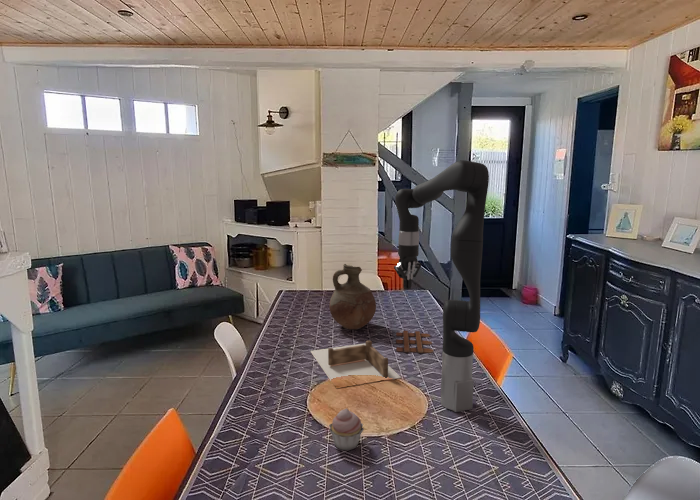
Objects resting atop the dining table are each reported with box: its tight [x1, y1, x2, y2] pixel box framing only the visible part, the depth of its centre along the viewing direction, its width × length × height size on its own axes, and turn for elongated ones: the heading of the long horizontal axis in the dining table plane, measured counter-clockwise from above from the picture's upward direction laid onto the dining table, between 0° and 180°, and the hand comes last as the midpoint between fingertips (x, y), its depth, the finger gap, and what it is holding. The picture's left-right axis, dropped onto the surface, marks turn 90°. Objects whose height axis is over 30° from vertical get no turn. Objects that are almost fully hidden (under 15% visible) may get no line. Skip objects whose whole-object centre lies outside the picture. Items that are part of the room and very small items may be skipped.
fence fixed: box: [365, 340, 389, 378], centre depth 165 cm, size 18×2×8 cm, turn 20°
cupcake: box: [328, 407, 365, 451], centre depth 119 cm, size 9×9×10 cm
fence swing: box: [327, 345, 366, 365], centre depth 169 cm, size 15×2×6 cm, turn 113°
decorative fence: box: [395, 330, 435, 354], centre depth 191 cm, size 23×2×15 cm
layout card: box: [310, 342, 402, 381], centre depth 170 cm, size 34×24×1 cm
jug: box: [328, 263, 377, 330], centre depth 207 cm, size 22×22×30 cm
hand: (407, 288), depth 168 cm, fingers closed
